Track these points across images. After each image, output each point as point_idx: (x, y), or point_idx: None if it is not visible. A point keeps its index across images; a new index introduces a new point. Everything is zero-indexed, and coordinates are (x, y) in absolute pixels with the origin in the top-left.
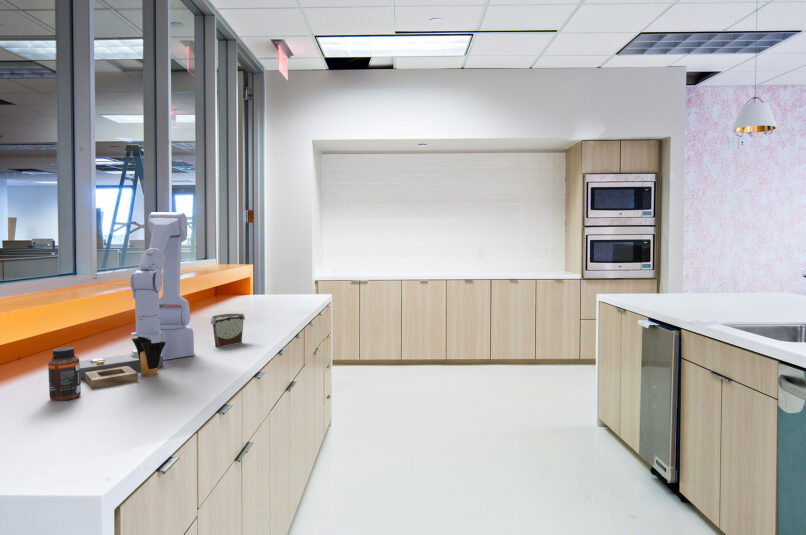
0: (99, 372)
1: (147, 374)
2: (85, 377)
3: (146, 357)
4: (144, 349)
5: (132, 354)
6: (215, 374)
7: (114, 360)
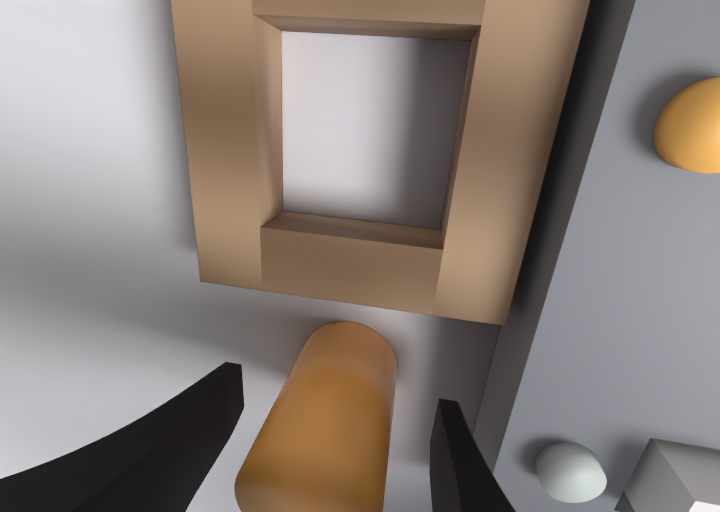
0: (473, 60)
1: (305, 343)
2: None
3: (167, 417)
4: (53, 473)
5: None
6: None
7: (710, 291)
